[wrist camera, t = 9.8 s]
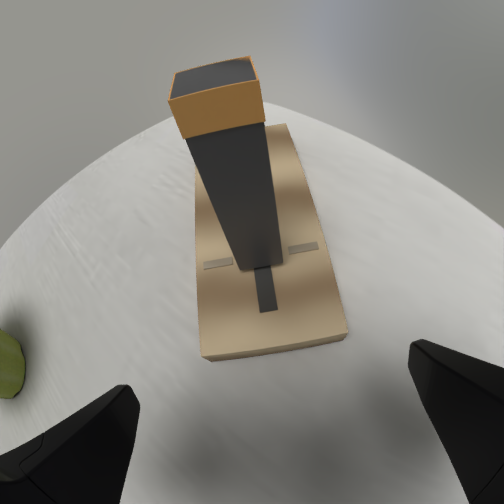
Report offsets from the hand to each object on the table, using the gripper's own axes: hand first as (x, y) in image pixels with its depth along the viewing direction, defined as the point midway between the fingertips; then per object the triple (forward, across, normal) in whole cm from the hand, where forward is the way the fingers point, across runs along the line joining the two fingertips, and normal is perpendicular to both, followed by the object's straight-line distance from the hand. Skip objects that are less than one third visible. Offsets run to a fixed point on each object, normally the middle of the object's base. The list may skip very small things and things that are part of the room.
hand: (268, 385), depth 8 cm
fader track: (+14, 0, -2) cm, 14 cm away
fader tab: (+10, 0, -2) cm, 10 cm away
